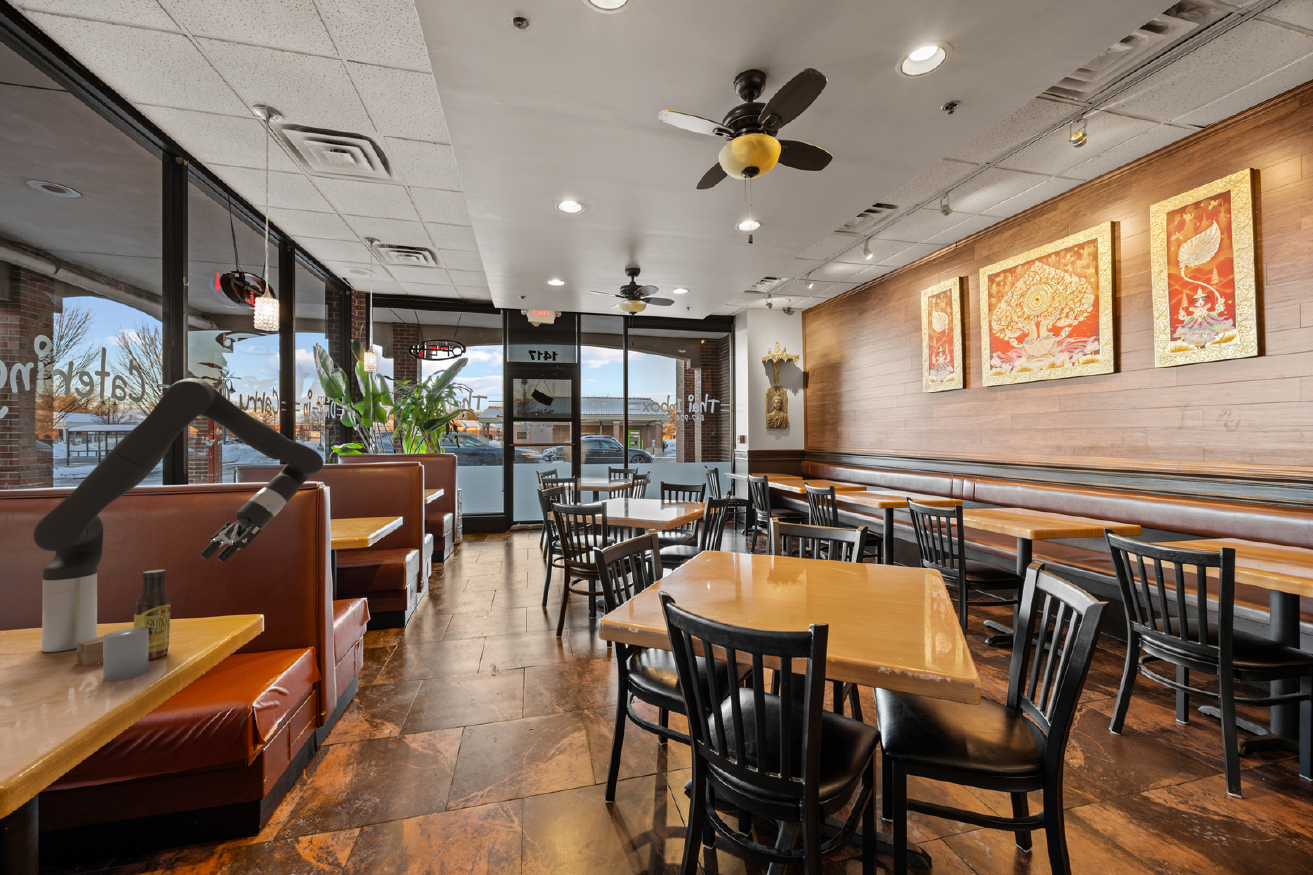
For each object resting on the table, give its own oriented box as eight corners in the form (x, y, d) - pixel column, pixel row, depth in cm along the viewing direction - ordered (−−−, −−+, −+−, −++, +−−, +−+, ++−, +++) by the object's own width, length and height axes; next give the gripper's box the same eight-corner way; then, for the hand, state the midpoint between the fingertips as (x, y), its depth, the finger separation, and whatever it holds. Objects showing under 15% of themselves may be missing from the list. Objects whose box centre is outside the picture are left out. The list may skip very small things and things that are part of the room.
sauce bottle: (146, 663, 122) (147, 575, 123) (124, 661, 124) (125, 574, 124) (177, 652, 129) (177, 568, 129) (156, 650, 130) (157, 567, 130)
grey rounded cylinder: (97, 677, 115) (97, 635, 115) (140, 665, 121) (140, 625, 121) (110, 684, 112) (111, 640, 112) (154, 671, 118) (154, 629, 118)
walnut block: (76, 663, 123) (77, 641, 123) (107, 656, 127) (107, 634, 127) (85, 667, 120) (85, 645, 121) (115, 659, 125) (116, 638, 125)
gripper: (236, 498, 148) (185, 547, 138) (265, 500, 142) (212, 552, 131) (258, 515, 153) (209, 564, 143) (286, 518, 146) (238, 569, 136)
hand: (211, 558), depth 137 cm, fingers open, 8 cm apart
